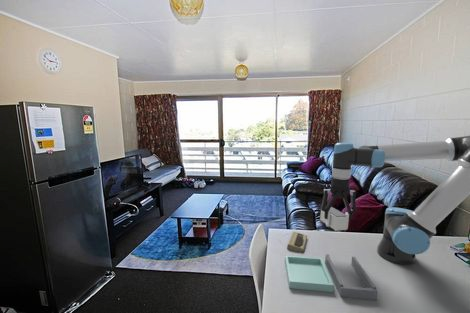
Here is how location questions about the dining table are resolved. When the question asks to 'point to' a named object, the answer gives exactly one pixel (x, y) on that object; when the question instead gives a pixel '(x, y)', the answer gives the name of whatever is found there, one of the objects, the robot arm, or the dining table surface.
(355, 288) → the tray
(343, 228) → the grey bevelled prism
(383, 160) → the robot arm
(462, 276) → the dining table surface
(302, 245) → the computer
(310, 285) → the tray
